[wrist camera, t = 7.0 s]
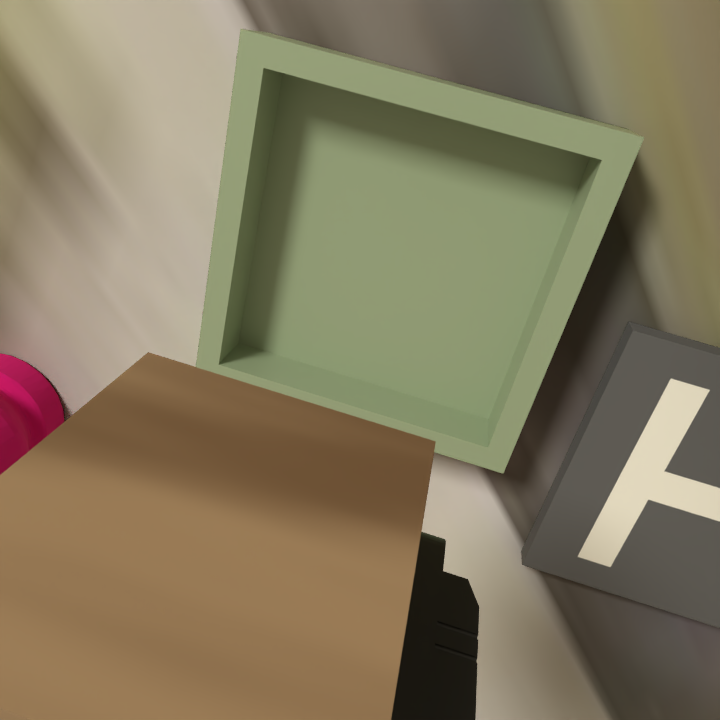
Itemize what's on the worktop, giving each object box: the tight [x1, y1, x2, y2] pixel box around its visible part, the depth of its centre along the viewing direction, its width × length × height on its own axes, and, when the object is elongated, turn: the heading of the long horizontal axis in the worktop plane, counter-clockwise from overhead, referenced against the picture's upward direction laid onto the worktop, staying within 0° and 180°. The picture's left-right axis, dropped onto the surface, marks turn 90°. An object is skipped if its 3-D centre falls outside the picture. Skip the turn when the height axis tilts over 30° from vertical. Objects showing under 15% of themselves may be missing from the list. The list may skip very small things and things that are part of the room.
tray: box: [196, 29, 644, 473], centre depth 26 cm, size 14×14×3 cm
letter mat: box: [521, 322, 720, 628], centre depth 29 cm, size 13×13×1 cm
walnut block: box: [0, 352, 436, 720], centre depth 9 cm, size 5×5×6 cm
